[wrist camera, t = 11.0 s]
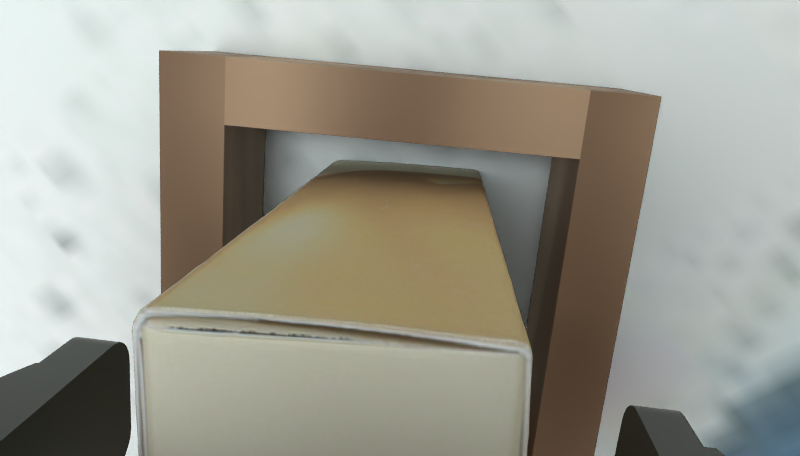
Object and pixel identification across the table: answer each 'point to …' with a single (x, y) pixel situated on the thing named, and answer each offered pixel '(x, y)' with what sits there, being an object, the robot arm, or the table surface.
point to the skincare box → (343, 329)
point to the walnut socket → (443, 126)
